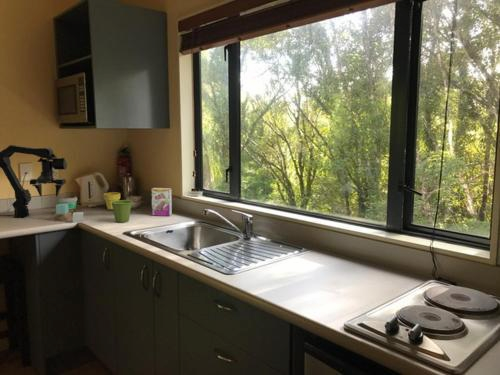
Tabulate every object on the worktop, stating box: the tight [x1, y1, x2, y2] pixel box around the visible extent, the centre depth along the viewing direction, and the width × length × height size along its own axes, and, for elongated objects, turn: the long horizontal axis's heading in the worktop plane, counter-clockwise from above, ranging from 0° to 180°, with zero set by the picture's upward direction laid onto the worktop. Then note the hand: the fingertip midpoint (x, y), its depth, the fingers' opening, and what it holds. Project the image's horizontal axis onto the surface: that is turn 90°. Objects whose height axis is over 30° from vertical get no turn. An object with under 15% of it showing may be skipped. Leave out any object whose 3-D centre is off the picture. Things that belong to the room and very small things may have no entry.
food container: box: [56, 195, 78, 215], centre depth 256 cm, size 12×6×10 cm, turn 143°
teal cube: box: [55, 203, 68, 214], centre depth 240 cm, size 5×5×5 cm
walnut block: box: [52, 212, 73, 222], centre depth 241 cm, size 7×7×4 cm
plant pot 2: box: [111, 199, 134, 223], centre depth 237 cm, size 12×12×11 cm
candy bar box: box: [150, 187, 173, 217], centre depth 254 cm, size 11×5×16 cm, turn 84°
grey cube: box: [72, 211, 85, 224], centre depth 235 cm, size 5×5×5 cm
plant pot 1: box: [103, 192, 121, 210], centre depth 276 cm, size 10×10×10 cm
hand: (48, 196), depth 248 cm, fingers open, 9 cm apart
